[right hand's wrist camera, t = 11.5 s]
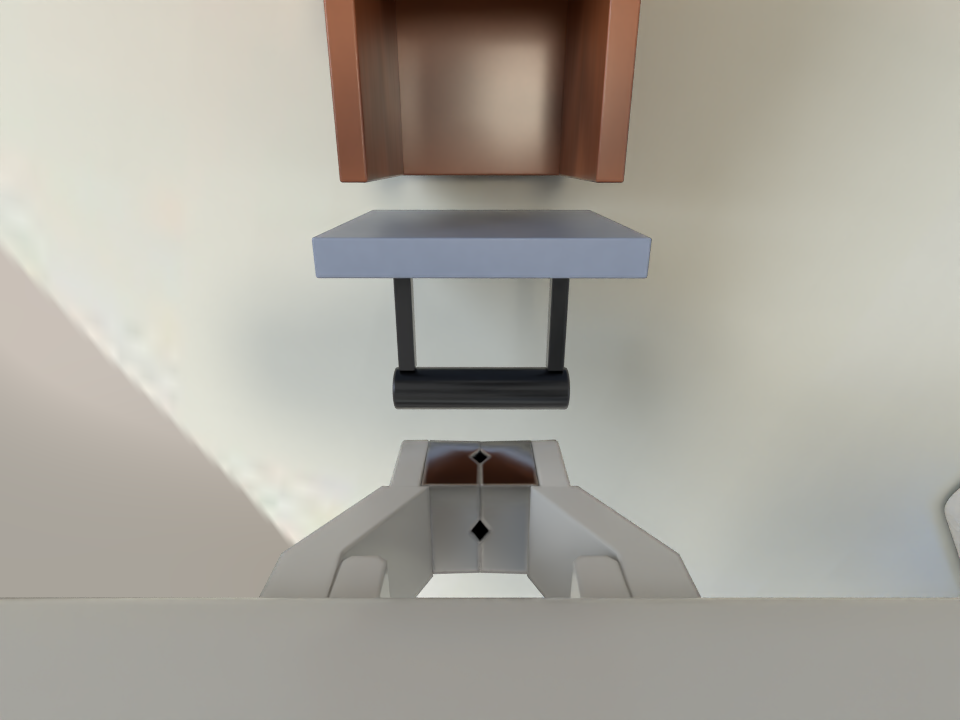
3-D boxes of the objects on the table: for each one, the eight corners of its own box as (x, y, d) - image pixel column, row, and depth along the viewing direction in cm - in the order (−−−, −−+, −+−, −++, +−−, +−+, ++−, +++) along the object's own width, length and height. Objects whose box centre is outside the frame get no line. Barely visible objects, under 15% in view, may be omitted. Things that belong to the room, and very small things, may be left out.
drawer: (580, 351, 26) (628, 443, 17) (381, 351, 26) (334, 442, 17) (631, -327, 17) (773, -789, 9) (333, -327, 17) (193, -790, 9)
